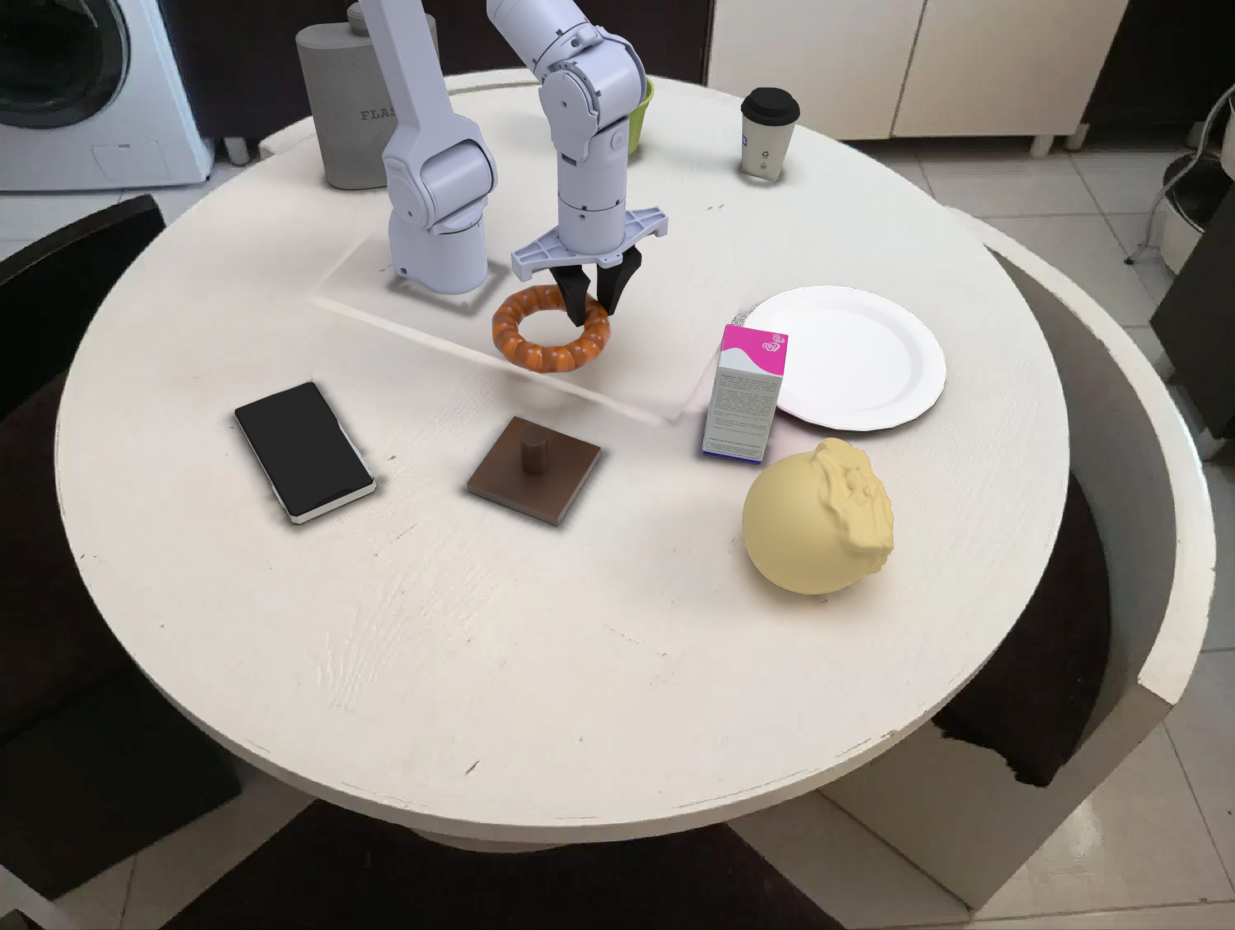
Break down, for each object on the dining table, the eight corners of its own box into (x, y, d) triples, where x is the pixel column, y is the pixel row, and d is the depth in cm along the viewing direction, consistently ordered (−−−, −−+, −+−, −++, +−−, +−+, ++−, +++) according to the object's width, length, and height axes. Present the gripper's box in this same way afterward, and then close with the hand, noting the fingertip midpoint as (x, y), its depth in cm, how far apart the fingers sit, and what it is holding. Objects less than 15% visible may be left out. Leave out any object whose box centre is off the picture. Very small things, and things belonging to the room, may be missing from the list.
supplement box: (763, 466, 91) (783, 378, 83) (699, 455, 92) (713, 366, 83) (769, 420, 95) (789, 332, 86) (708, 410, 96) (722, 321, 87)
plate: (777, 273, 109) (779, 261, 108) (964, 334, 104) (969, 322, 102) (703, 394, 97) (705, 382, 96) (911, 471, 92) (916, 459, 90)
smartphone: (313, 378, 95) (378, 480, 87) (315, 387, 96) (380, 489, 88) (230, 410, 92) (290, 519, 84) (234, 419, 93) (293, 528, 85)
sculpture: (890, 608, 82) (926, 531, 74) (747, 616, 81) (767, 539, 73) (858, 499, 89) (887, 418, 81) (726, 504, 88) (742, 423, 80)
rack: (467, 491, 88) (462, 453, 84) (514, 423, 94) (512, 385, 90) (557, 526, 86) (557, 489, 82) (601, 455, 92) (602, 417, 88)
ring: (472, 356, 90) (469, 337, 88) (525, 286, 97) (524, 267, 95) (580, 392, 88) (580, 373, 86) (627, 318, 94) (628, 299, 92)
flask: (333, 197, 115) (295, 30, 100) (323, 170, 119) (285, 4, 103) (457, 173, 119) (440, 8, 104) (444, 147, 123) (426, -16, 107)
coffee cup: (798, 169, 122) (812, 94, 114) (772, 197, 118) (786, 121, 111) (747, 151, 124) (759, 76, 117) (721, 177, 120) (731, 102, 113)
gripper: (534, 242, 78) (540, 366, 88) (691, 192, 83) (678, 316, 93) (496, 194, 82) (506, 319, 92) (648, 150, 86) (641, 273, 97)
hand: (590, 314), depth 93 cm, fingers closed on ring, 3 cm apart
